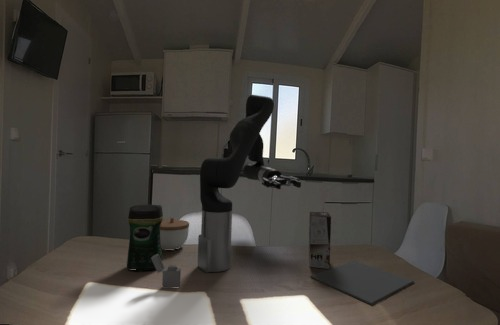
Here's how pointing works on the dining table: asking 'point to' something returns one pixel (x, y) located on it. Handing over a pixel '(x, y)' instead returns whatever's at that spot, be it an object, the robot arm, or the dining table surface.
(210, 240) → the robot arm
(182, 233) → the lidded bowl
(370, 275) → the rubber mat
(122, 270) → the dining table surface
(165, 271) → the lighter
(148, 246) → the coffee jar
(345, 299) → the dining table surface
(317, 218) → the coffee box
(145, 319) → the dining table surface
